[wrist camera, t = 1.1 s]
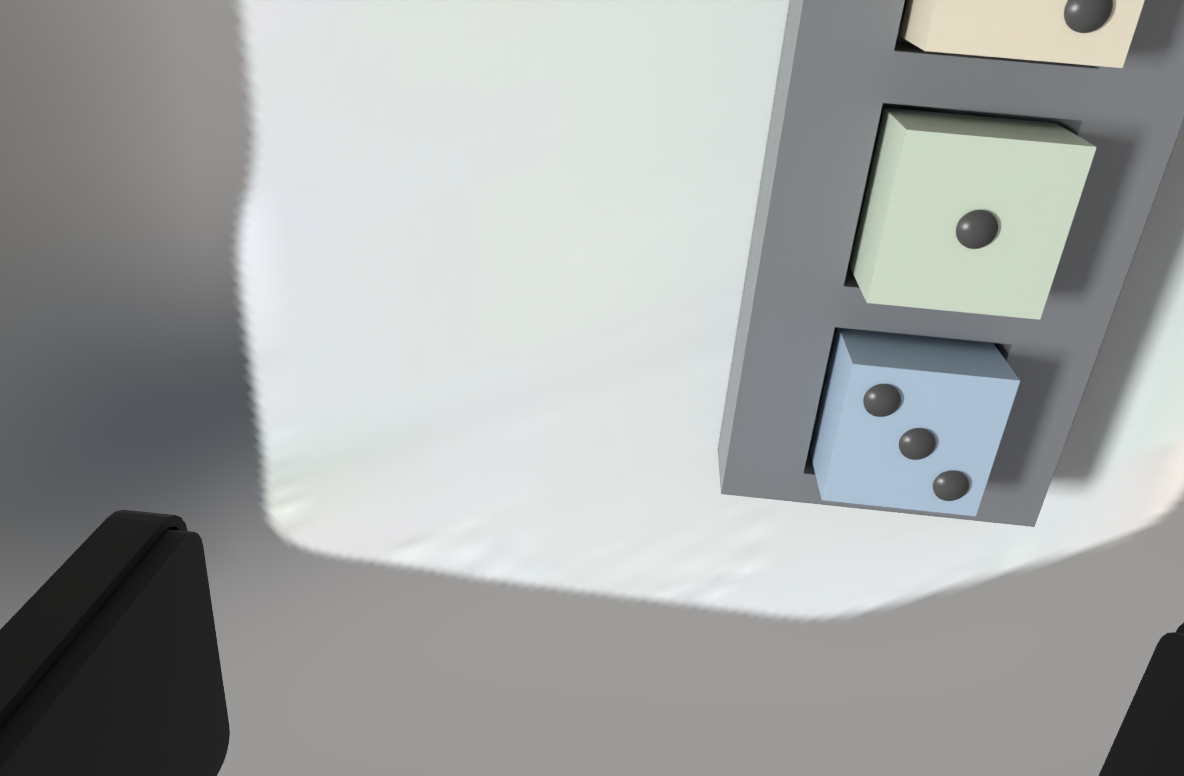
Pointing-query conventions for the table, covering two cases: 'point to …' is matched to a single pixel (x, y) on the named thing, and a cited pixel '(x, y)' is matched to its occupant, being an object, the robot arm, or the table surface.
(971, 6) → the key two
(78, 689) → the robot arm
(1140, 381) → the table surface
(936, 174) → the key one
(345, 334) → the table surface
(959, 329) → the keypad board
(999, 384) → the key three
